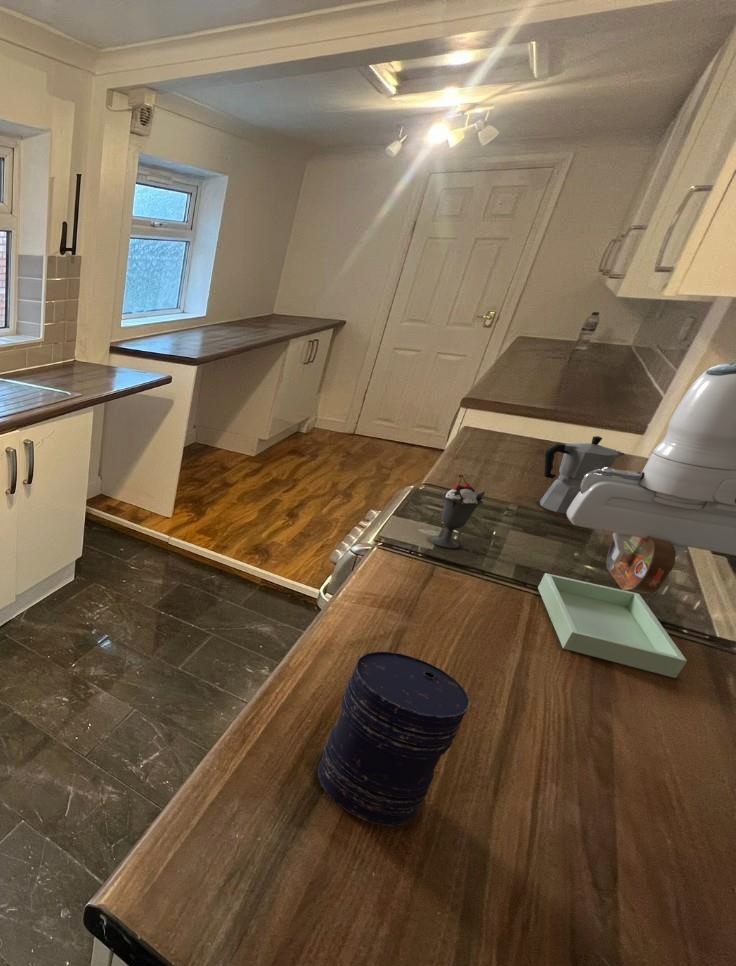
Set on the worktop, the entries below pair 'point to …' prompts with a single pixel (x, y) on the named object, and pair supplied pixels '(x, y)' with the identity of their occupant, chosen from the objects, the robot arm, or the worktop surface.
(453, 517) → the sundae
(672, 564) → the tin
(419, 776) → the navy ribbed drum
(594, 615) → the tray
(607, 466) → the coffeepot
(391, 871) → the worktop surface
